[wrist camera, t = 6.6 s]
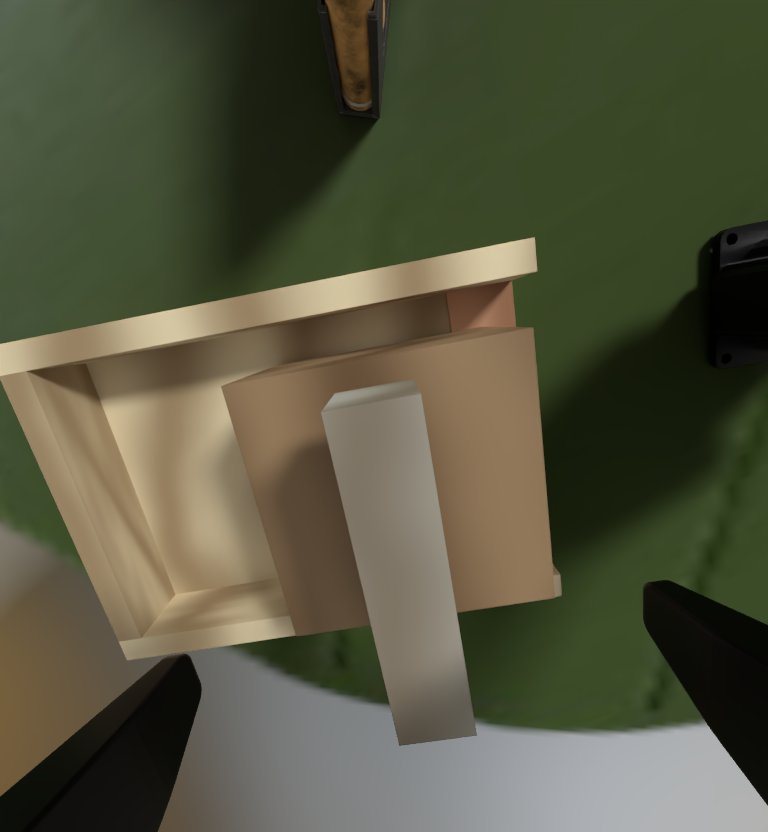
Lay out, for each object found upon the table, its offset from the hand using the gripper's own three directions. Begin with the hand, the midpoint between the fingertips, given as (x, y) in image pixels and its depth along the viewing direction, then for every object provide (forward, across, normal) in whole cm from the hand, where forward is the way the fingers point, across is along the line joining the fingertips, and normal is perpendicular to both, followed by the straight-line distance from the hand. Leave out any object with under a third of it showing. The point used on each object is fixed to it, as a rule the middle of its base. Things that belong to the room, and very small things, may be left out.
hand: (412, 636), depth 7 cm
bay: (+13, +4, 0) cm, 14 cm away
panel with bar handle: (+12, 0, 0) cm, 12 cm away
